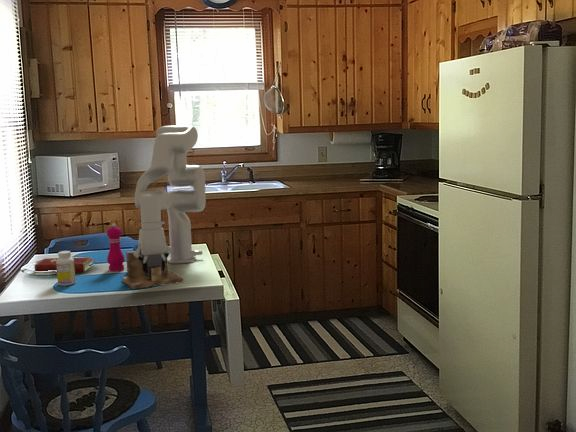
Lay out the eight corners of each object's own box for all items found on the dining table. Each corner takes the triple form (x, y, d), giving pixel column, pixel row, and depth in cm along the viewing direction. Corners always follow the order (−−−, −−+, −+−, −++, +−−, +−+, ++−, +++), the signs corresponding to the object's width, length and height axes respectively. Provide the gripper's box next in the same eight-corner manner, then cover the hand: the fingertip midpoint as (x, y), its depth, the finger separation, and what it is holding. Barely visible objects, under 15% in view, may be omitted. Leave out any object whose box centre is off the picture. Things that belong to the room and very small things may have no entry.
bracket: (160, 274, 272) (159, 252, 270) (162, 275, 270) (161, 253, 268) (145, 276, 269) (144, 253, 268) (147, 277, 267) (146, 255, 265)
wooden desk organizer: (170, 274, 283) (169, 246, 281) (183, 281, 270) (181, 253, 268) (122, 280, 274) (120, 252, 272) (133, 289, 261) (131, 259, 259)
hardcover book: (84, 273, 290) (84, 263, 290) (35, 273, 291) (34, 264, 290) (92, 266, 302) (92, 256, 302) (45, 267, 303) (44, 257, 302)
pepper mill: (120, 271, 289) (117, 224, 286) (104, 271, 290) (101, 224, 287) (128, 267, 296) (125, 221, 293) (112, 267, 297) (109, 221, 294)
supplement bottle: (67, 281, 276) (65, 249, 273) (79, 282, 272) (77, 251, 270) (54, 285, 270) (51, 252, 268) (66, 286, 266) (63, 254, 264)
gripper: (169, 222, 273) (172, 266, 276) (126, 226, 265) (129, 272, 268) (176, 224, 267) (178, 270, 270) (132, 229, 259) (135, 276, 262)
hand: (154, 270), depth 269 cm, fingers closed on bracket, 5 cm apart
